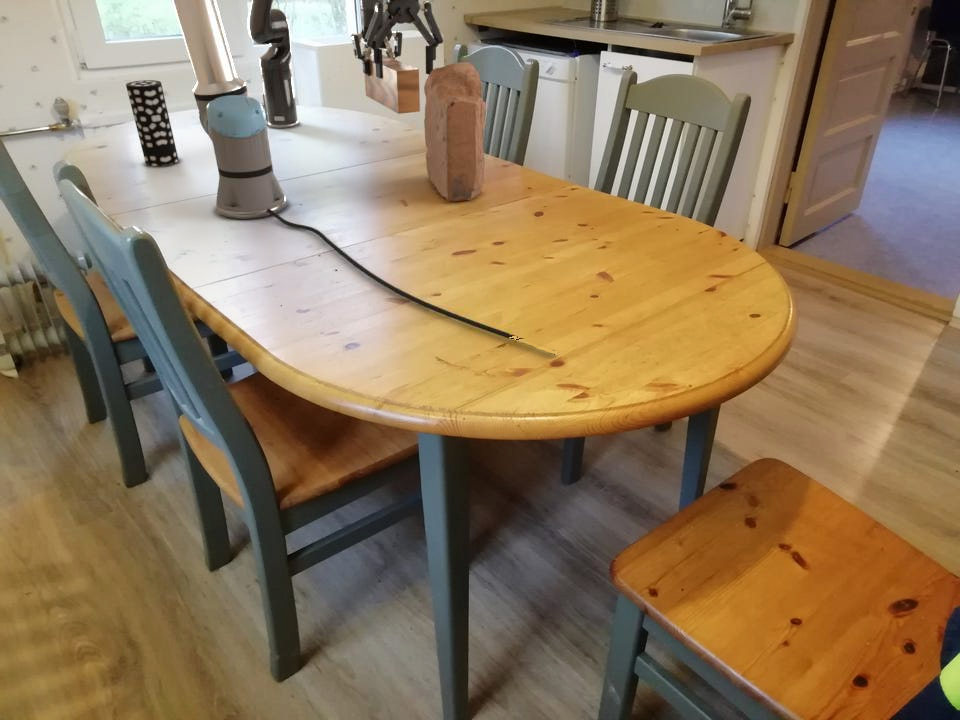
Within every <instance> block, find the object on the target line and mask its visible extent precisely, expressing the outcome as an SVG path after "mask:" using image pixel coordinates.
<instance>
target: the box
mask: <svg viewBox="0 0 960 720" xmlns="http://www.w3.org/2000/svg"><path fill="white" fill-rule="evenodd" d="M368 61H369V62H370V76H366V75H365V74H364V86H365V96H366V97H367V98H369V99H371V100H373V101H375V102H376V103H378V104H380V105H381V106H384V107H386V108H387V109H389V110H391V111H393V112H394V113H396V114H398V115H400V114H401V115H402V114H410V113H419V112H421V97H420V69H419V68H416V67H414V66H412V65H409V64H406V63H404V62H402V61H400V60H397V59H396V58H395V59H392V58H390V57H388V56H387V55H385V54H382V61H383V78H382V79H380V78H378V77H376V64H375V63H373V62H372V55H370V57H369V60H368Z"/></svg>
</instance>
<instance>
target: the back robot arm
mask: <svg viewBox="0 0 960 720" xmlns="http://www.w3.org/2000/svg"><path fill="white" fill-rule="evenodd" d="M359 2H360V17H361V19H360V20H361V26H362V28H361V31H360V33H352V34H351V35H350V39H351V44H352V50H353V54H354V58H356V59H358V60H360V61H361V62H362V63H361V64H362V72H363V75H364V76H365V75H366V76H370V62H369V61H368V60H369V57H370V56H372V51H371V48H370V47H368V46H366V45H364V44H363V45H364V46H363V49H362V48H361V44H360V43H361V42H362V40H364V39H365V36H366V33H367V31H368V28H369V25H370V23H371V20H372V17H373V14H374V7H375V3H376V2H378V3H382V4H387V0H359ZM273 3H274V0H250V5H249V10H248V16H247V30H248V35H249V37H250V39H251V41H252V42H253V43H254V44H256V45H260V46H264V45H268V50H267V51H266V52H265V53H264V54H262V55H261V56H260V57H259V59H258V64H259V71H260V77H261V83H262V89H263V92H262V94H261V95H262V101H263V102H262V103H263V104H262V103H261V105H262V106H263V109H264V113H265V115H266V125H268V127H270V128H274V129H287V128H293V127H297V126H298V125H299V119H298V111H297V104H296V95H295V88H294V80H293V73H292V65H291V61H292V42H291V41H292V40H291V31H290V30H291V29H290V23H289V20H288V18H287V15H286V14H285V12H283V10H281V9H279V8H272V7H273ZM388 15H389V13H388V11H387V10H385V13H383V15H382V19H381V21H380V24H379V27H378V29H377V32H376V35H377V34H378V32H379V31H380V29H381V28H382V26H383V25H384V23H385V20H386V18H387V17H388ZM376 35H375V37H376ZM375 37H374V38H375ZM391 39H392V40H393V48H392V46H391V43H390V41H391ZM402 45H403V33H402V32H401V31H399V30H396V31H393V30H392V29H391V30H390V32H389V33H388V35H387V36H386V38H385V39H384V41H383V42H382V44H381V45H380V47H379V49H382V50H383V51H384V52H385V54H386V56H387V57H390V58H392V59H395V60H396V58H398V57H401V56H402V47H403V46H402Z"/></svg>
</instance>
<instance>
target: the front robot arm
mask: <svg viewBox="0 0 960 720" xmlns="http://www.w3.org/2000/svg"><path fill="white" fill-rule="evenodd" d="M171 1H172V4H173V8H174V11H175V14H176V17H177V20H178V24H179V27H180V30H181V33H182V36H183V40H184V43H185V47H186V50H187V53H188V57H189V59H190V63H191V66H192V69H193V72H194V76H195V79H196V84H195V86H194V88H193V89H192V93H193V96H194V99H195V102H196V107H197V109H198V117H199V122H200V125H201V127H202V129H203V130H204V132H205V134H207V135H208V137H209V139H210V141H211V142H212V147H213V151H214V156H215V161H216V167H217V169H218V170H217V172H218V185H217V193H216V201H215V206H216V210H217V213H218V214H219V215H221V216H223V217H225V218H229V219H236V220H253V219H260V218H261V219H262V218H265V217H266V218H267V217H270V216H272V217H274V218H275V219H277V220H278V221H279V222H281V224H284V225H286V226H288V227H291V228H296V229H301V230H306V231H309V232H312V233H314V234H316V235H317V236H318V237H320V238H321V239H322V240H323V241H324V242H325V244H327V245H329V246H330V247H331V248H332V249H333V250H335V251H336V252H337V253H338V254H339V255H340V256H342V257H343V258H344V259H345V260H346V261H348V262H349V263H350V264H352V266H354V267H355V268H356V269H358V270H359V271H360V272H362V273H364V274H365V275H367V276H368V277H369V278H370V279H372V280H373V281H375V282H377V283H379V284H380V285H382V286H384V287H385V288H387V289H388V290H390V291H392V292H393V293H396V294H397V295H399V296H402V297H404V298H406V299H407V300H409V301H412V302H414V303H415V304H418V305H420V306H422V307H425V308H427V309H429V310H431V311H434V312H437V313H439V314H441V315H444V316H446V317H449V318H451V319H453V320H457V321H459V322H462V323H465V324H467V325H470V326H473V327H475V328H478V329H481V330H483V331H486V332H489V333H491V334H495V335H498V336H499V337H504V338H506V339H509V337H512V336H517V335H515V334H512V333H509V332H506V331H504V330H501V329H498V328H496V327H492V326H489V325H486V324H484V323H482V322H478V321H476V320H473V319H470V318H467V317H465V316H462V315H460V314H456V313H453V312H452V311H449V310H446V309H444V308H442V307H439V306H438V305H437V306H436V305H434V304H432V303H430V302H427V301H424V300H422V299H420V298H418V297H416V296H414V295H412V294H410V293H408V292H405V291H403V290H402V289H400V288H398V287H396V286H394V285H392V284H391V283H389V282H387V281H386V280H383V278H381V277H379V276H377V275H376V274H375V273H373V272H371V271H370V270H369V269H367V268H366V267H364V266H363V265H361V264H360V263H359V262H357V261H356V260H355V259H353V258H352V257H351V256H350V255H348V253H346V252H345V251H343V250H342V249H341V248H340V247H339V246H337V244H335V243H334V242H333V241H331V240H330V239H329V238H328V237H326V235H325V234H324V233H322V232H321V231H320V230H318V229H316V228H315V227H312V226H309V225H304V224H298V223H294V222H290V221H288V220H286V219H284V218H283V217H282V216H280V215H279V214H278V213H280V212H282V211H283V210H285V209H286V207H287V199H286V194H285V193H284V191H283V189H282V187H281V184H280V182H279V180H278V179H277V177H276V175H275V172H274V167H273V160H272V154H271V148H270V140H269V135H268V127H267V122H266V115H265V109H264V108H263V106H262V105H263V104H262V103H261V102H260V101H259V100H258V99H256V98H253V97H250V94H249V91H248V86H247V83H246V81H245V80H243V79H242V78H240V77H239V76H238V75H237V72H236V69H235V66H234V62H233V58H232V55H231V51H230V46H229V43H228V40H227V37H226V33H225V29H224V25H223V22H222V21H223V20H222V18H221V14H220V10H219V7H218V3H217V0H171ZM419 1H420V0H387V4H382V3H378V2H376V3H375V7H374V14H373V17H372V20H371V23H370V25H369V28H368V31H367V33H366V36H365V39H363V42H362V43H363V45H366V46H368V47H370V48H371V51H372V53H371V56H372V62H373V63H375V64H376V77H378V78H380V79H382V78H383V61H382V55H383V49H382V48H379V47H380V45H381V44H382V42H383V41H384V39H385V38H386V36H387V35H388V33H389V32H390V30H392V29H393V27H395V26H396V24H398V25H399V24H400V25H402V24H413V25H414V26H415V28H416V30H417V31H418V32H419V33H420V35H421V36H422V37H423V39H424V40H425V41H426V43H427V44H428V45H425V74H426V75H428V76H429V75H430V73H431V71H432V70H433V69H434V61H436V60H437V48H438V47H439V45H441V44H443V43H444V38H443V36H442V34H441V31H440V29H439V27H438V24H437V21H436V19H435V16H434V15H433V9H432V3H431V2H429V1H423V2H419ZM385 10H387V11H388V13H389V15H388V17H387V18H386V20H385V23H384V25H383V26H382V28H381V29H380V31H379V32H378V34H377V35H376V32H377V29H378V27H379V24H380V21H381V19H382V15H383V13H385ZM420 12H422V13H423V16H424V18H425V21H426V23H427V26H428V28H429V30H430V31H429V30H428V29H427V27H426V25H425V24H424V23H423V20H422V19H421V18H420V16H419V15H418V14H419V13H420ZM375 35H376V37H375ZM374 37H375V38H374ZM261 104H262V105H261ZM510 334H511V335H510ZM518 337H519V336H517V338H518ZM511 339H514V338H511ZM511 339H510V340H511ZM519 339H524V338H523V337H521V338H519ZM519 339H516V340H519Z"/></svg>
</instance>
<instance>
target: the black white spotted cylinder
mask: <svg viewBox="0 0 960 720" xmlns="http://www.w3.org/2000/svg"><path fill="white" fill-rule="evenodd" d="M125 87H126V91H127V95H128V99H129V103H130V107H131V110H132V115H133V118H134V122H135V123H134V124H135V127H136V130H137V134H138V139H139V143H140V146H141V150H142V155H143V158H144V163H145V164H146V165H147V166H151V167H164V166H170V165H174V164H176V163H178V162H179V155H178V150H177V146H176V142H175V137H174V133H173V128H172V125H171V121H170V116H169V111H168V107H167V103H166V98H165V93H164V89H163V84H162V81H161V80H155V79H154V80H153V79H151V80H150V79H145V80H144V79H141V80H134V81H130V82H129V81H128V82H127V83H126V84H125Z"/></svg>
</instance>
